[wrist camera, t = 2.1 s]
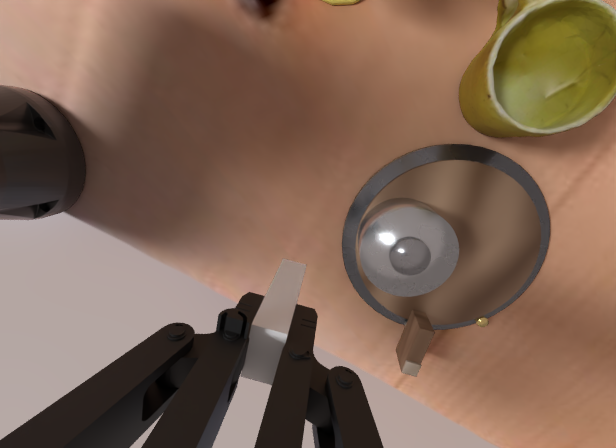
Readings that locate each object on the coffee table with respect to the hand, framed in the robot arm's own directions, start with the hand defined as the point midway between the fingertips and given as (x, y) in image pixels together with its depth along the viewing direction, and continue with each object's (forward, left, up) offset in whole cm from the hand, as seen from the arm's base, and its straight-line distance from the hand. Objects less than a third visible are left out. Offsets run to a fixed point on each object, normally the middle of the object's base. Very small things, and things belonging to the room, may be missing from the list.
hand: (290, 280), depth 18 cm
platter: (+15, -2, -16) cm, 22 cm away
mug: (+14, +18, -17) cm, 28 cm away
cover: (+10, 0, -15) cm, 18 cm away
